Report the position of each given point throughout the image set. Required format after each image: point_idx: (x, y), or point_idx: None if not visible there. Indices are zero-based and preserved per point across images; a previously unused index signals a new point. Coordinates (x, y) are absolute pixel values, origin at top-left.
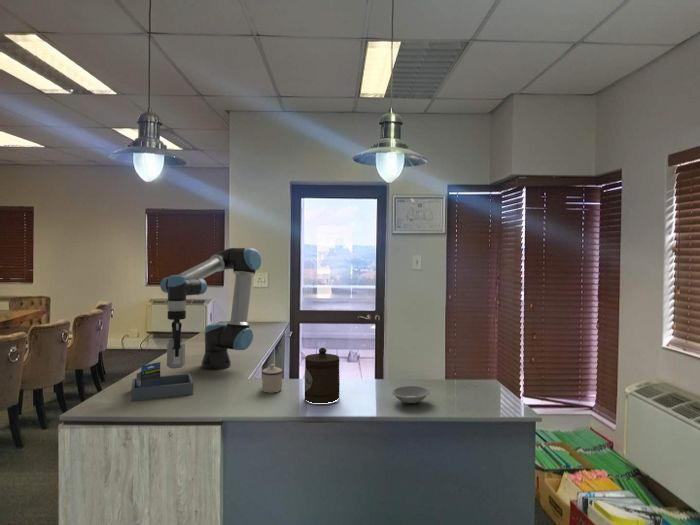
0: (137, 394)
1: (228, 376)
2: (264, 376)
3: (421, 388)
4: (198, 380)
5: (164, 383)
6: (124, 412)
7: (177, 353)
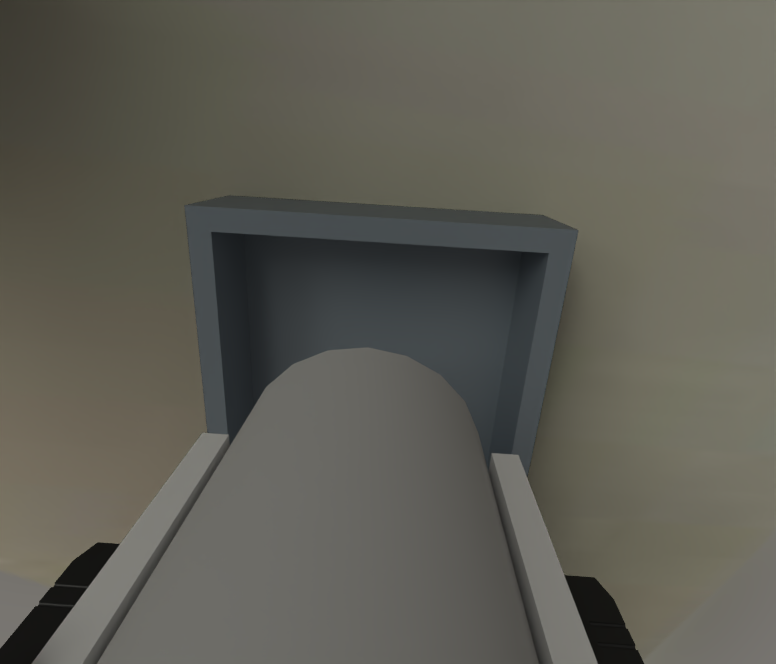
0: None
1: None
2: None
3: None
4: (123, 98)
5: (247, 403)
6: (653, 598)
7: (625, 659)
